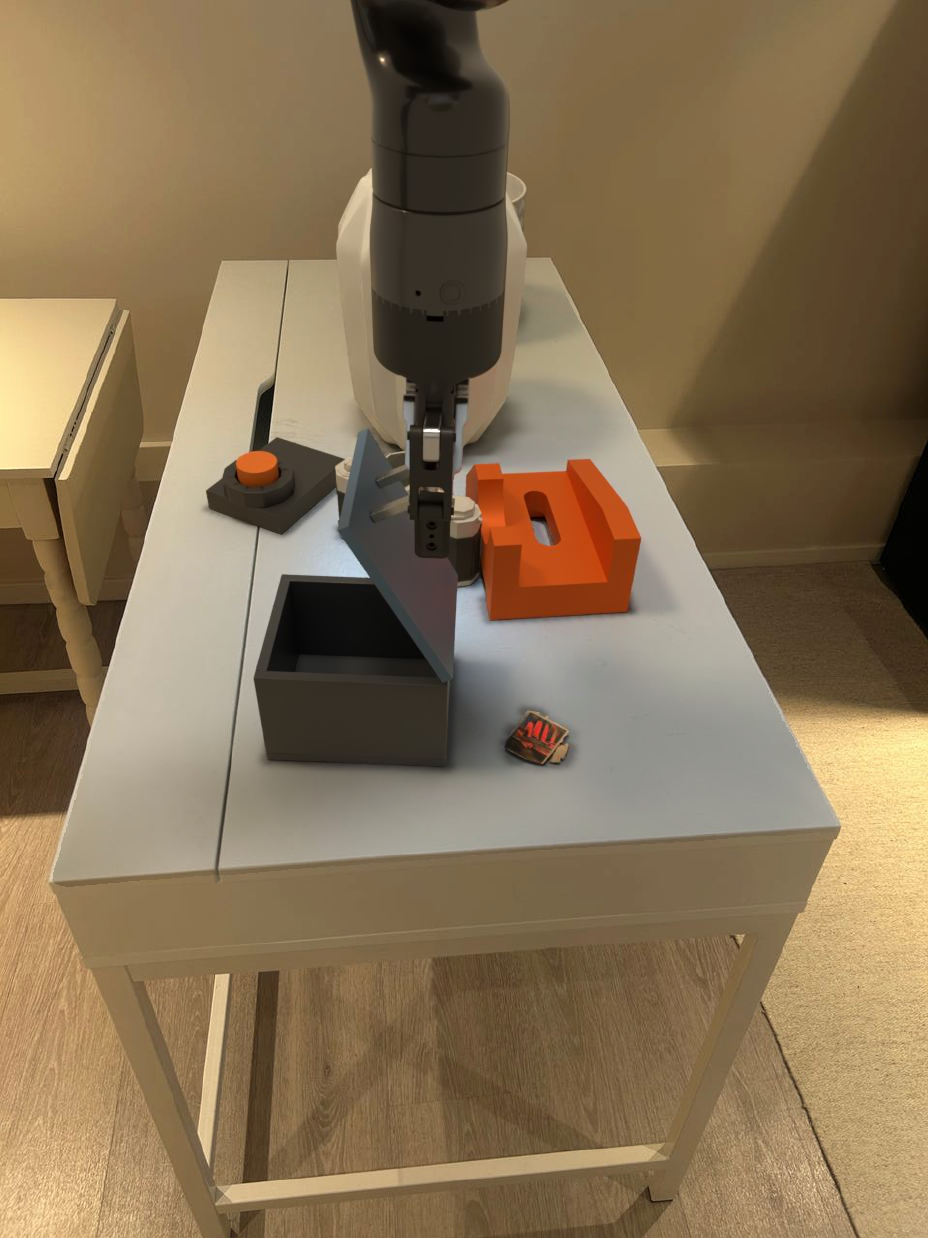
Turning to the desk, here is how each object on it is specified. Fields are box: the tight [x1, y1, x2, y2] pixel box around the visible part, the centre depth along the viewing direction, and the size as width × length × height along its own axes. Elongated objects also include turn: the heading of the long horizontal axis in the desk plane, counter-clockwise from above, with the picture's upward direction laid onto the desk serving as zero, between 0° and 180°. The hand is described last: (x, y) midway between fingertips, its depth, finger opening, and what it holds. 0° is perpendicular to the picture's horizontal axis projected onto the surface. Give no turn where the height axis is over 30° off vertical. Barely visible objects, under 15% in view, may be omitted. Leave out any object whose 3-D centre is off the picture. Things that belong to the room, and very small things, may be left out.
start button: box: [236, 450, 279, 486], centre depth 93 cm, size 4×4×2 cm
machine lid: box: [337, 427, 458, 683], centre depth 64 cm, size 14×12×5 cm
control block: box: [205, 436, 346, 535], centre depth 96 cm, size 12×9×4 cm
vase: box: [335, 167, 528, 451], centre depth 99 cm, size 20×20×28 cm
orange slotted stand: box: [464, 458, 642, 621], centre depth 88 cm, size 18×13×8 cm
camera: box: [335, 450, 483, 588], centre depth 89 cm, size 16×9×10 cm, turn 58°
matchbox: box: [504, 709, 570, 765], centre depth 73 cm, size 5×5×1 cm
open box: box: [253, 573, 451, 767], centre depth 73 cm, size 14×12×9 cm
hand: (435, 516), depth 63 cm, fingers open, 8 cm apart
